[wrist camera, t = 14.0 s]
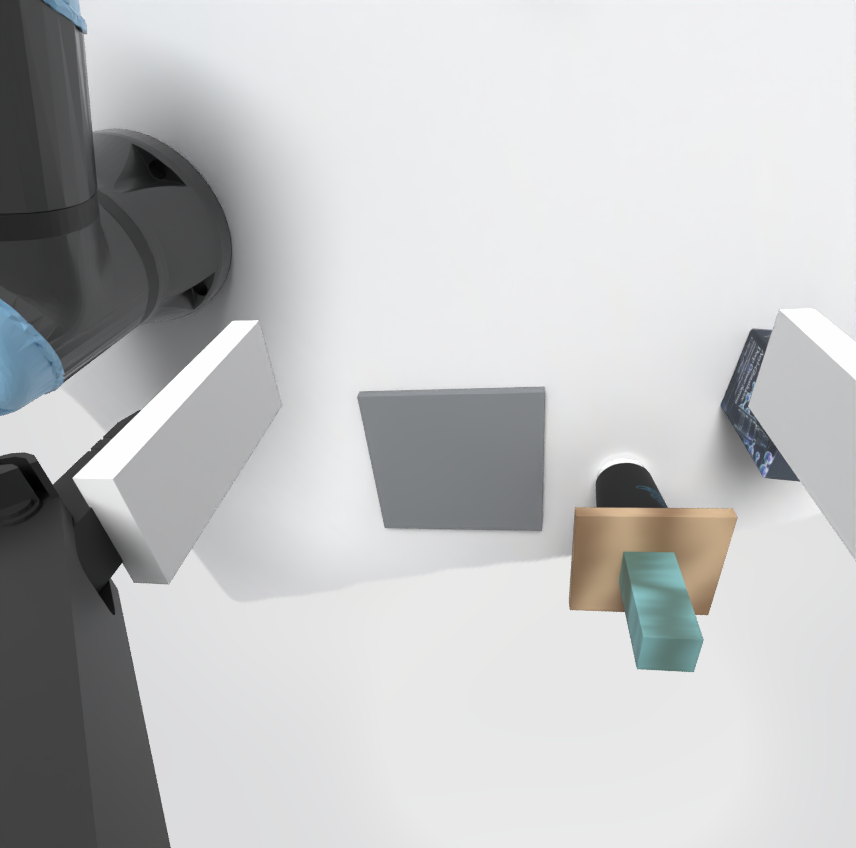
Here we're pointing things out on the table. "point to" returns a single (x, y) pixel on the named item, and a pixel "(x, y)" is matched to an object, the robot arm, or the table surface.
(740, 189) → the table surface
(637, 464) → the dixie cup
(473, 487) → the mat
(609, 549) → the lid
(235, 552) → the table surface
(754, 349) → the box
